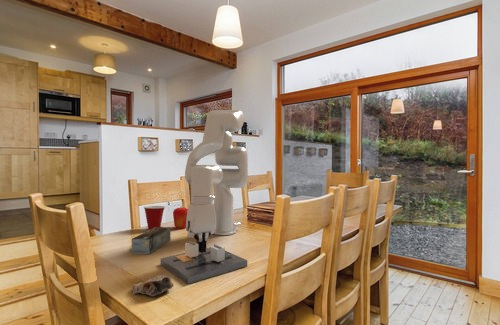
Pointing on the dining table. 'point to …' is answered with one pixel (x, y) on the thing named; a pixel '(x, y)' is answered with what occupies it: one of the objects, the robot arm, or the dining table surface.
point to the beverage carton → (151, 240)
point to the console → (201, 265)
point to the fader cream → (191, 249)
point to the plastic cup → (154, 215)
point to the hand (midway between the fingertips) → (201, 251)
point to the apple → (180, 217)
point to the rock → (153, 286)
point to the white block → (217, 253)
